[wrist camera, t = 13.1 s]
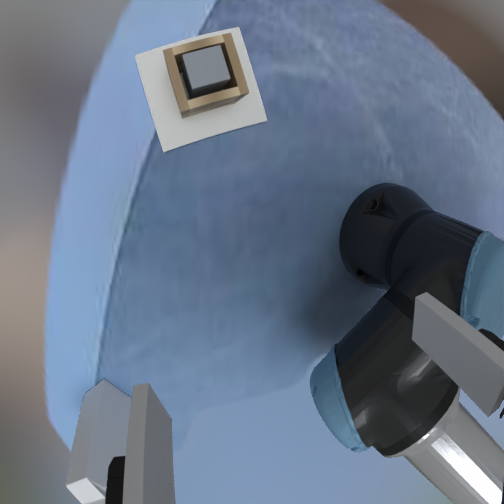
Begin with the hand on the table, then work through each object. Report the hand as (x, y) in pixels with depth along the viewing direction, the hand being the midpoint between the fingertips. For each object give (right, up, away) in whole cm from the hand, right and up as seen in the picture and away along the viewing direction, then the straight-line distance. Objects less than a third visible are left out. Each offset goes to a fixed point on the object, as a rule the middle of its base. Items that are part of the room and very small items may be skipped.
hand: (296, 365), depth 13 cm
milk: (-26, -19, +30) cm, 44 cm away
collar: (-7, +23, +16) cm, 29 cm away
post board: (-8, +24, +18) cm, 31 cm away
